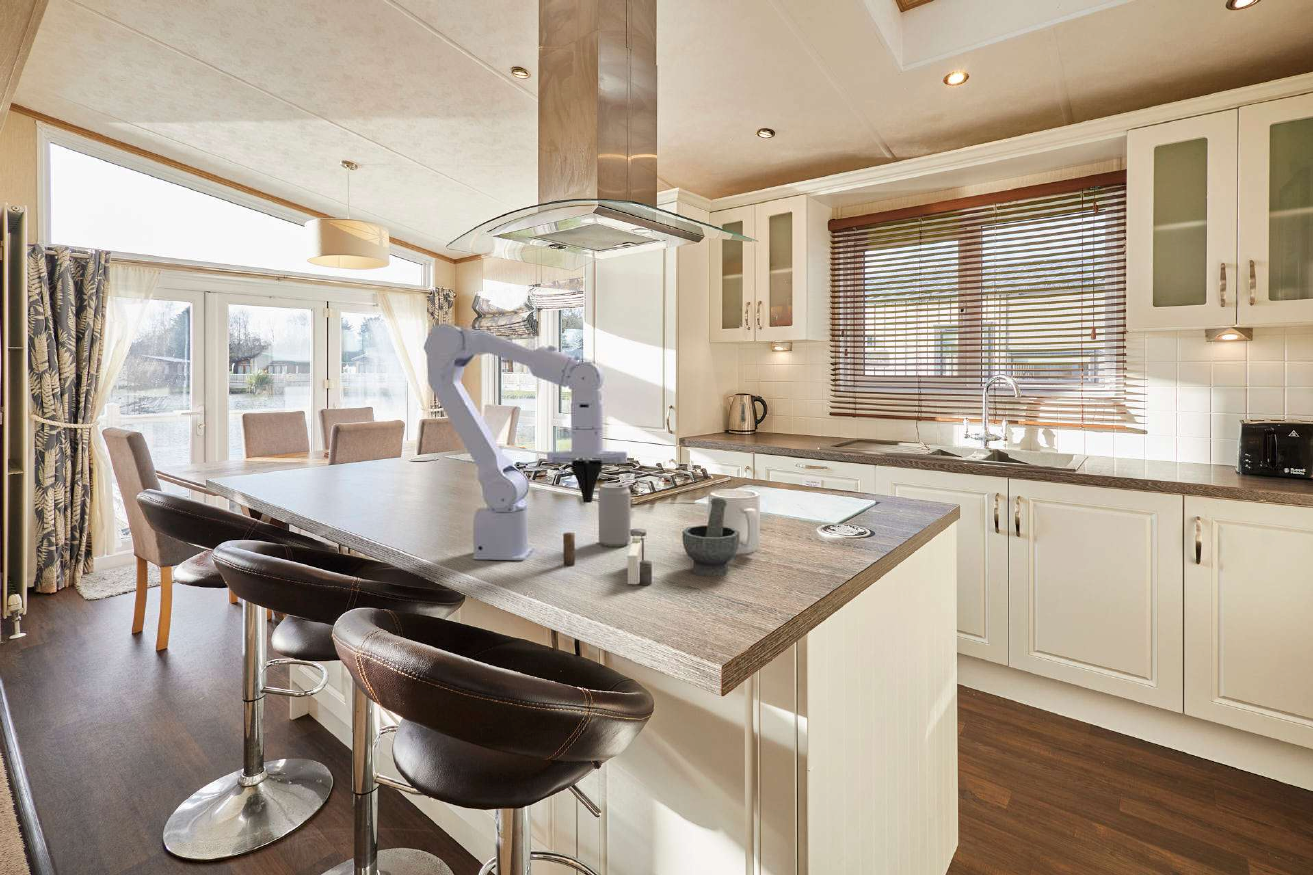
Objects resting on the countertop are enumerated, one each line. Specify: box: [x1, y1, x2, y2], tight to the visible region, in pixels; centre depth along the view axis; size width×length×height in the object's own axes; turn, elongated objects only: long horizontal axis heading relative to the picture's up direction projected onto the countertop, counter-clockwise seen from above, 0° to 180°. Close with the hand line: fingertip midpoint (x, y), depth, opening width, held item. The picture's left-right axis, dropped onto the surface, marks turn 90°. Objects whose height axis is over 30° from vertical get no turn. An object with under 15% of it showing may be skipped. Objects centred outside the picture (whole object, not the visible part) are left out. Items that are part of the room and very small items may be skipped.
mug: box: [707, 488, 761, 555], centre depth 124 cm, size 14×10×11 cm
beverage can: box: [597, 482, 632, 548], centre depth 127 cm, size 6×6×12 cm
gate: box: [627, 528, 647, 585], centre depth 108 cm, size 12×3×6 cm, turn 177°
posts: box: [562, 532, 653, 586], centre depth 108 cm, size 16×12×6 cm
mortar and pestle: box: [681, 498, 740, 577], centre depth 111 cm, size 11×9×12 cm
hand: (587, 501), depth 118 cm, fingers closed
